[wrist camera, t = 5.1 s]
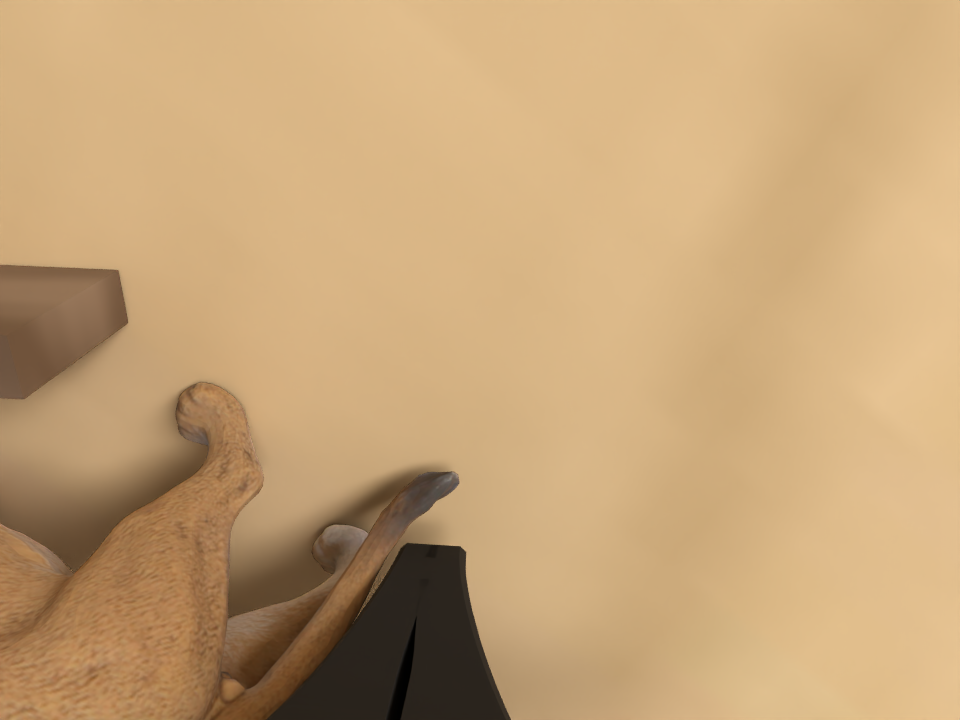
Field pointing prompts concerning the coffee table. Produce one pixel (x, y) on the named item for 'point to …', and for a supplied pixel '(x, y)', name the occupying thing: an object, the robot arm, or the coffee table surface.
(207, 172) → the coffee table surface
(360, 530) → the lion figurine
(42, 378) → the frame
